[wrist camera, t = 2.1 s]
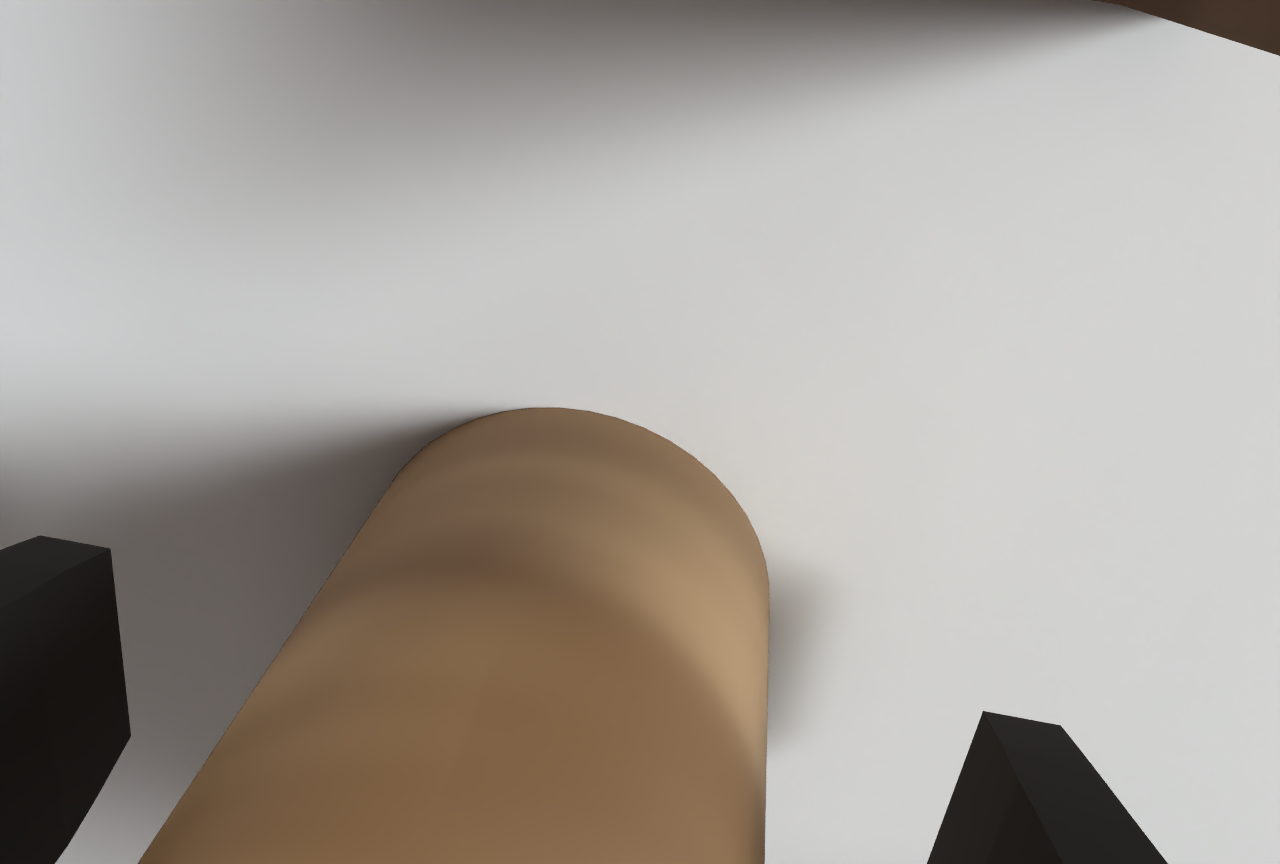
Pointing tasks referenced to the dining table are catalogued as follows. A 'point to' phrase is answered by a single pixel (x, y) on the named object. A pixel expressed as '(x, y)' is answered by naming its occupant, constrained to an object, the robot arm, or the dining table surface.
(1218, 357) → the dining table surface
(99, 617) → the robot arm
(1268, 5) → the cup bracket
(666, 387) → the dining table surface
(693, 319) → the dining table surface
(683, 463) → the oak peg
